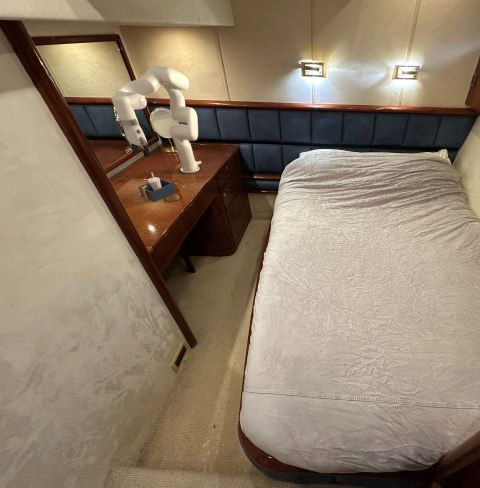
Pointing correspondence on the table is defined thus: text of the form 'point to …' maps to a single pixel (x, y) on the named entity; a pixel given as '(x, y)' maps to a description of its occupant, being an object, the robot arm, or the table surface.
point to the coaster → (172, 198)
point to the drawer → (158, 194)
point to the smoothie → (154, 182)
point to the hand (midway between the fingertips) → (142, 154)
